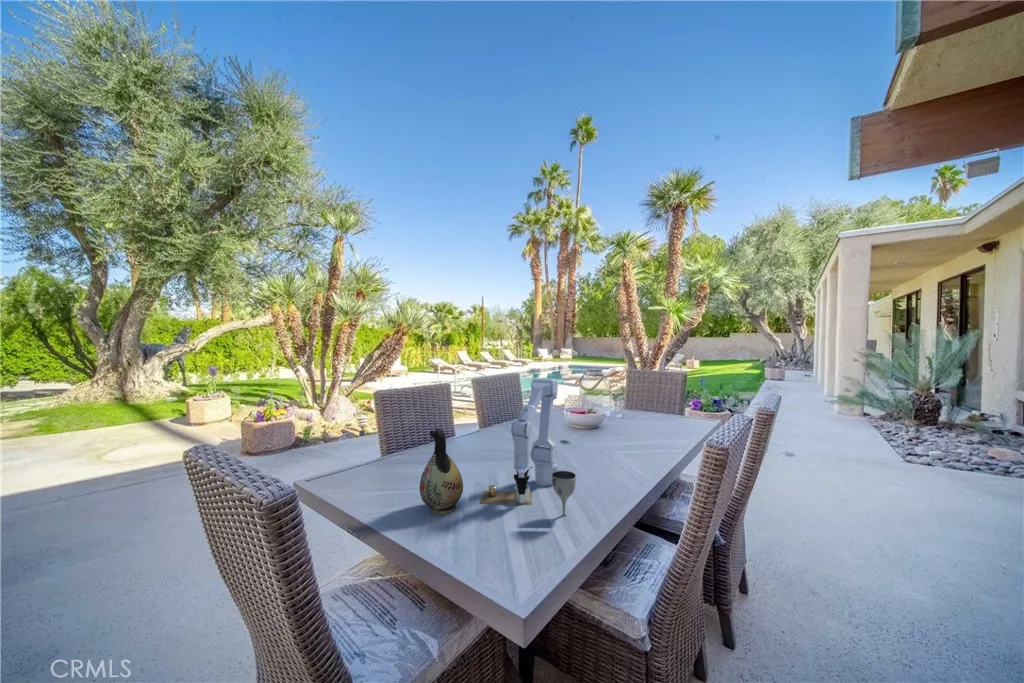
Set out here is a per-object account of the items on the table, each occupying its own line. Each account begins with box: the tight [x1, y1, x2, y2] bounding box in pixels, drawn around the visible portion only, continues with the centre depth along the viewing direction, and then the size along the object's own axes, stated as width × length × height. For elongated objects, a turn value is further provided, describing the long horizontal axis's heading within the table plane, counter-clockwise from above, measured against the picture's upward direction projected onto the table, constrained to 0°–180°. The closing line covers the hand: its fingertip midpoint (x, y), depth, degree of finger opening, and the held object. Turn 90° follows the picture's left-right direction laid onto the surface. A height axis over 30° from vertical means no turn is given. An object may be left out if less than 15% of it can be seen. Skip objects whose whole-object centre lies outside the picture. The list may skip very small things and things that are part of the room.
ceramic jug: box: [419, 427, 464, 515], centre depth 143 cm, size 17×15×30 cm
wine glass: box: [552, 470, 577, 518], centre depth 136 cm, size 8×8×15 cm
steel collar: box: [513, 484, 531, 504], centre depth 148 cm, size 6×6×5 cm
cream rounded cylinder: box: [487, 484, 497, 497], centre depth 153 cm, size 3×3×4 cm
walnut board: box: [479, 490, 533, 506], centre depth 151 cm, size 19×12×1 cm, turn 87°
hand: (522, 490), depth 148 cm, fingers open, 7 cm apart
